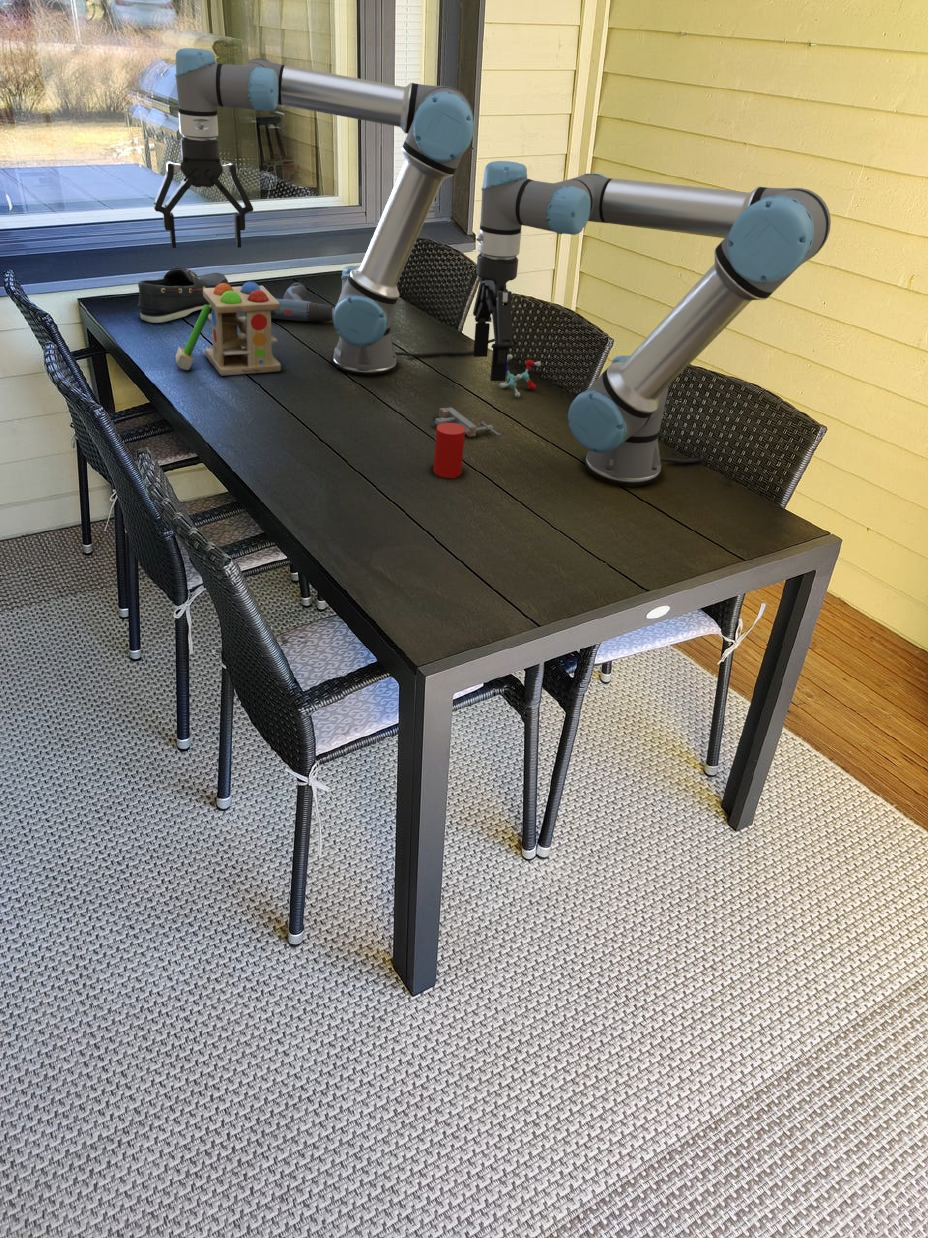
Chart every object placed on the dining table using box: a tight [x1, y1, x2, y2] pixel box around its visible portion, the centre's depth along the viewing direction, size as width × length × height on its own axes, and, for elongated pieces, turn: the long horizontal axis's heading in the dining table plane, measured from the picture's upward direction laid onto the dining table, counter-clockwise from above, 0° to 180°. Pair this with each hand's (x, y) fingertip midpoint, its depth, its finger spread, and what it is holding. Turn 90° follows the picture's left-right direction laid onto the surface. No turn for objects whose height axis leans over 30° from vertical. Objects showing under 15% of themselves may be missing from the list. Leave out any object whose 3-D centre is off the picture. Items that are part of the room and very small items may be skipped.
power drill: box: [271, 282, 335, 322], centre depth 265 cm, size 5×19×20 cm
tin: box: [432, 422, 466, 479], centre depth 191 cm, size 6×6×9 cm
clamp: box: [434, 407, 502, 438], centre depth 210 cm, size 15×2×10 cm
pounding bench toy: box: [174, 281, 282, 377], centre depth 225 cm, size 23×14×18 cm, turn 116°
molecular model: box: [499, 353, 542, 398], centre depth 230 cm, size 12×10×10 cm
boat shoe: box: [137, 266, 230, 324], centre depth 260 cm, size 13×33×10 cm, turn 147°
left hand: (206, 246), depth 210 cm, fingers open, 13 cm apart
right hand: (488, 368), depth 191 cm, fingers open, 13 cm apart
